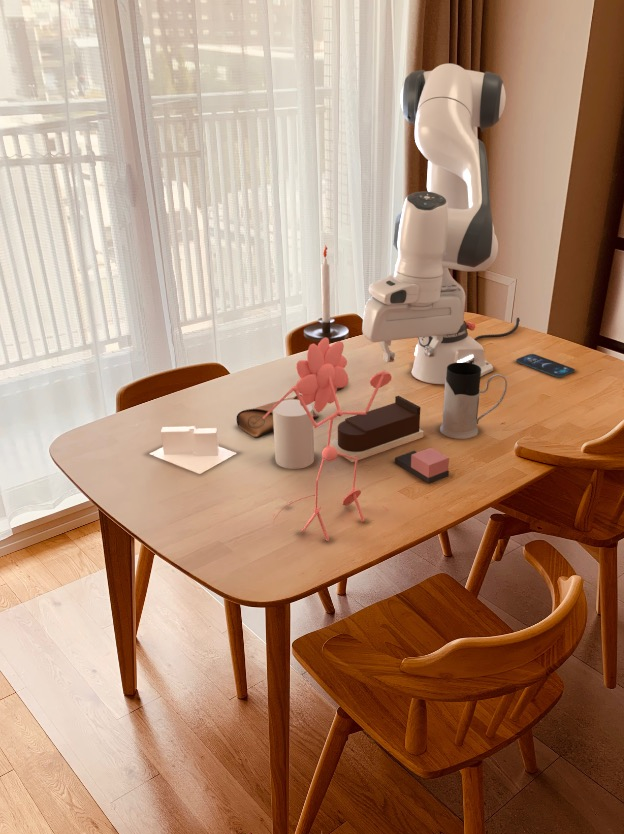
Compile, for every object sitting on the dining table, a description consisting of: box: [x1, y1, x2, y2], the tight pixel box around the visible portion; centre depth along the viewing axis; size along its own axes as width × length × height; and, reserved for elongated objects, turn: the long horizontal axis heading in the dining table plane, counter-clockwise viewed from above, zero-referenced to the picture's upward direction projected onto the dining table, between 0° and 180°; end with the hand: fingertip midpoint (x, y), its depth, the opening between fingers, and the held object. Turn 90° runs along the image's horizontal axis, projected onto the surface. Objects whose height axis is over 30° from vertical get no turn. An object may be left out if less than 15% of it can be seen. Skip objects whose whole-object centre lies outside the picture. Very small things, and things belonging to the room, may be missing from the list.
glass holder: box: [439, 362, 508, 440], centre depth 179 cm, size 9×14×15 cm, turn 91°
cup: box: [273, 399, 315, 470], centre depth 166 cm, size 8×8×12 cm
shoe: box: [329, 395, 425, 463], centre depth 175 cm, size 20×8×8 cm, turn 129°
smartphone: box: [515, 353, 576, 378], centre depth 216 cm, size 8×1×15 cm
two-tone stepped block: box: [394, 447, 450, 484], centre depth 166 cm, size 11×5×4 cm, turn 39°
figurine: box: [263, 337, 393, 542], centre depth 141 cm, size 15×26×35 cm, turn 137°
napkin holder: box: [149, 425, 237, 475], centre depth 169 cm, size 15×11×6 cm
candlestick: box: [303, 244, 350, 393], centre depth 193 cm, size 11×11×35 cm
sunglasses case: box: [236, 393, 320, 438], centre depth 184 cm, size 18×7×7 cm, turn 130°
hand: (409, 358), depth 155 cm, fingers open, 8 cm apart
